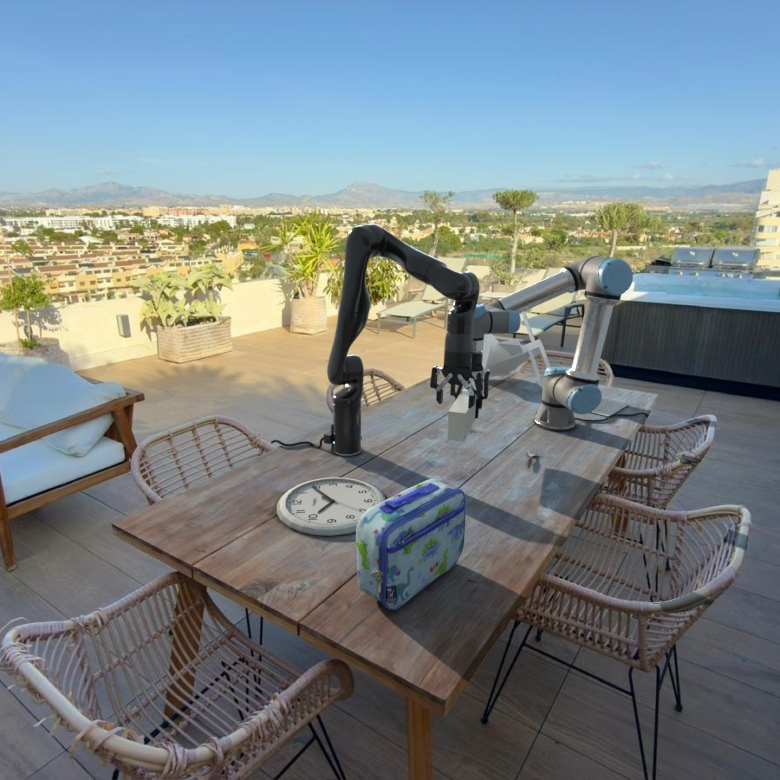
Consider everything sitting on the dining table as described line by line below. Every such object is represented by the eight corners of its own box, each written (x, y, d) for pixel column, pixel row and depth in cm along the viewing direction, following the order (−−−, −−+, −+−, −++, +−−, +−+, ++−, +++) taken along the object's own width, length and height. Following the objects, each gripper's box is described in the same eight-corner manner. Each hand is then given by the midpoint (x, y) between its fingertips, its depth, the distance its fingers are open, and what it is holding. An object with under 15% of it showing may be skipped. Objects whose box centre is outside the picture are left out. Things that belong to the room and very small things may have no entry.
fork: (523, 469, 166) (524, 463, 165) (529, 450, 180) (529, 445, 179) (532, 470, 165) (532, 464, 164) (536, 451, 179) (537, 446, 179)
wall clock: (392, 527, 129) (268, 531, 127) (391, 533, 130) (269, 537, 127) (383, 473, 158) (282, 475, 155) (383, 478, 158) (282, 480, 156)
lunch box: (385, 624, 100) (387, 528, 94) (349, 596, 108) (348, 506, 101) (468, 566, 118) (474, 482, 112) (432, 545, 125) (436, 466, 119)
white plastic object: (490, 420, 264) (470, 397, 239) (471, 347, 286) (451, 319, 261) (562, 396, 252) (549, 369, 227) (536, 322, 274) (521, 290, 249)
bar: (462, 413, 187) (463, 388, 184) (477, 415, 185) (478, 389, 182) (447, 439, 164) (448, 411, 161) (464, 441, 162) (465, 413, 160)
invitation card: (608, 416, 214) (573, 407, 224) (608, 416, 214) (573, 408, 224) (628, 404, 229) (594, 396, 238) (628, 405, 229) (594, 397, 238)
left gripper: (428, 348, 139) (426, 405, 144) (481, 353, 134) (477, 413, 139) (437, 343, 146) (434, 398, 151) (487, 348, 141) (483, 404, 146)
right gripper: (442, 351, 175) (439, 416, 182) (497, 356, 169) (493, 423, 176) (446, 346, 182) (444, 409, 189) (500, 351, 176) (495, 415, 183)
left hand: (455, 405), depth 145 cm, fingers open, 8 cm apart
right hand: (467, 416), depth 182 cm, fingers closed on bar, 5 cm apart
